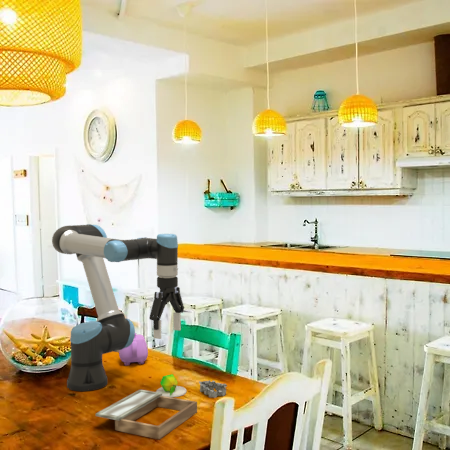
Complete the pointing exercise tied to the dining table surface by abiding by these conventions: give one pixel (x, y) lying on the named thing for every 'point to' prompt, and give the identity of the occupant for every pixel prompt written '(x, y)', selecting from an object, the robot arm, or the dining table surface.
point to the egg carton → (212, 388)
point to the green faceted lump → (169, 383)
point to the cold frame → (142, 404)
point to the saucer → (178, 392)
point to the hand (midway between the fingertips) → (167, 334)
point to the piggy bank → (135, 351)
